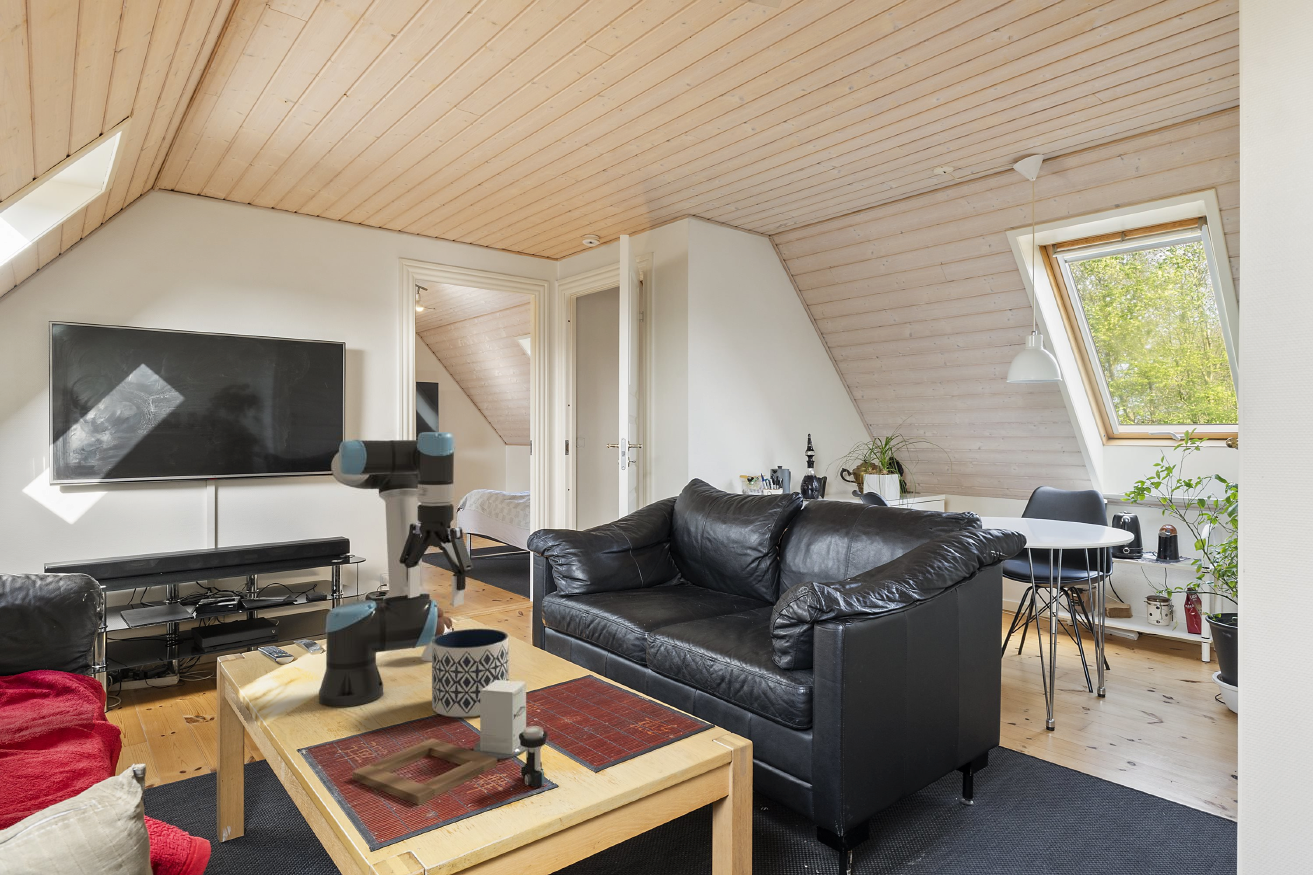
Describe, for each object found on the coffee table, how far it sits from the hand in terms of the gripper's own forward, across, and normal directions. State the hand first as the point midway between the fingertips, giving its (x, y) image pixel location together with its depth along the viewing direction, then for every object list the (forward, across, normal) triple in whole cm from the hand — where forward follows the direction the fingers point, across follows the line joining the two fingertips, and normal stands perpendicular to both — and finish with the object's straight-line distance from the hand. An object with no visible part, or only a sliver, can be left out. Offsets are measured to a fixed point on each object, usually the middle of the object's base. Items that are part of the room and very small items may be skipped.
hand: (435, 600), depth 164 cm
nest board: (+29, +13, -14) cm, 35 cm away
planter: (+30, -7, +18) cm, 36 cm away
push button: (+28, +33, -7) cm, 44 cm away
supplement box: (+28, +18, +2) cm, 34 cm away
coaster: (+29, +18, +2) cm, 34 cm away
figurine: (+32, -45, +42) cm, 69 cm away
